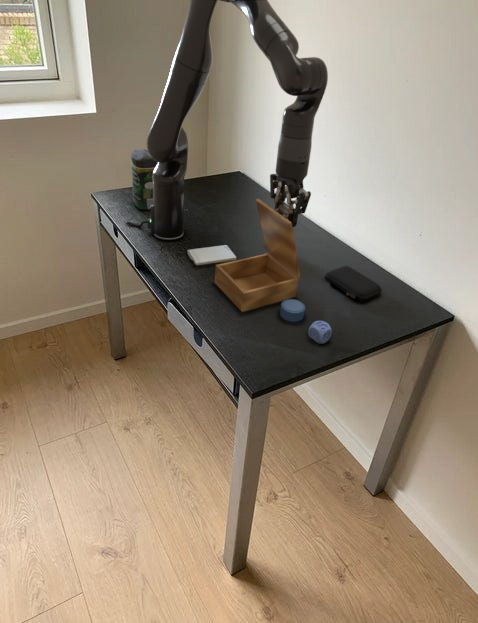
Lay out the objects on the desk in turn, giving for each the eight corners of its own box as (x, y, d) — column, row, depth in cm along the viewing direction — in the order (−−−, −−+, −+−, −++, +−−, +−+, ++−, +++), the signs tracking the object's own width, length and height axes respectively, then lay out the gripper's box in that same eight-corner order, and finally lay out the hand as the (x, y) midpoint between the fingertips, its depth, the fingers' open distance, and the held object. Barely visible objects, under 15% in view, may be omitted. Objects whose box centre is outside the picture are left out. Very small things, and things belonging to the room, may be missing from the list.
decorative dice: (317, 331, 118) (320, 318, 115) (330, 340, 115) (333, 326, 113) (306, 337, 115) (309, 324, 113) (319, 346, 113) (322, 332, 111)
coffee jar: (130, 201, 170) (127, 148, 159) (151, 198, 173) (150, 146, 162) (139, 212, 163) (137, 158, 152) (161, 209, 166) (160, 156, 155)
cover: (288, 223, 112) (306, 214, 113) (255, 199, 122) (271, 191, 123) (297, 278, 124) (313, 269, 125) (267, 252, 134) (281, 244, 135)
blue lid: (277, 321, 120) (279, 309, 118) (281, 307, 125) (283, 296, 122) (301, 326, 119) (303, 314, 117) (304, 312, 124) (306, 301, 122)
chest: (241, 314, 121) (244, 293, 117) (214, 285, 131) (215, 264, 127) (295, 299, 128) (298, 279, 125) (265, 272, 138) (268, 253, 134)
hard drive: (226, 244, 147) (187, 248, 142) (236, 257, 141) (196, 262, 136) (226, 249, 147) (187, 253, 143) (236, 262, 142) (196, 267, 137)
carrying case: (318, 280, 137) (357, 306, 128) (320, 271, 135) (360, 297, 126) (344, 271, 142) (383, 295, 133) (346, 262, 141) (386, 286, 132)
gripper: (263, 146, 114) (257, 213, 124) (299, 166, 105) (289, 237, 115) (288, 143, 118) (280, 208, 128) (326, 162, 108) (314, 231, 118)
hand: (284, 221), depth 121 cm, fingers closed on cover, 5 cm apart
